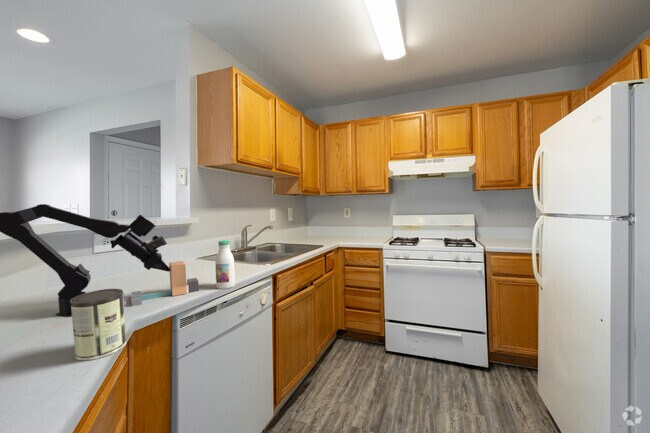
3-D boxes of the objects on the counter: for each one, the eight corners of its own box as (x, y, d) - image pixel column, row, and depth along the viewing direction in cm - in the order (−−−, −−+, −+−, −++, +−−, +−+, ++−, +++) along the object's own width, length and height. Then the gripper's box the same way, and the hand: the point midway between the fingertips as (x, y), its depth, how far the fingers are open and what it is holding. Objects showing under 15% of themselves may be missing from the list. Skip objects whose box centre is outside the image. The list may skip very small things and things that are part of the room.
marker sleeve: (172, 296, 109) (171, 265, 109) (170, 291, 115) (169, 262, 114) (186, 293, 112) (185, 264, 111) (184, 289, 118) (182, 261, 117)
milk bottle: (227, 283, 126) (225, 239, 125) (239, 285, 122) (237, 240, 121) (212, 287, 119) (210, 241, 118) (224, 290, 115) (222, 242, 114)
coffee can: (96, 340, 75) (92, 289, 75) (135, 338, 76) (132, 287, 75) (62, 362, 65) (57, 303, 64) (107, 360, 65) (103, 301, 65)
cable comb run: (131, 306, 100) (131, 294, 99) (131, 297, 110) (131, 286, 109) (200, 293, 113) (200, 282, 112) (195, 285, 123) (194, 276, 122)
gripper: (153, 231, 100) (188, 258, 107) (150, 228, 115) (181, 251, 122) (127, 256, 96) (166, 282, 103) (128, 249, 111) (161, 272, 118)
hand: (169, 270), depth 111 cm, fingers closed, pressing on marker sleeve
